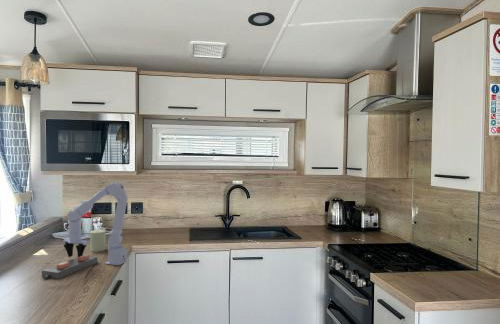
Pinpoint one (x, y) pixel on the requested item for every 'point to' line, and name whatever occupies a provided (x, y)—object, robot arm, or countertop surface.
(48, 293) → the countertop surface
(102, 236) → the can
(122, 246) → the robot arm
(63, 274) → the power strip
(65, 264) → the switch
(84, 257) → the switch
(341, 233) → the countertop surface
